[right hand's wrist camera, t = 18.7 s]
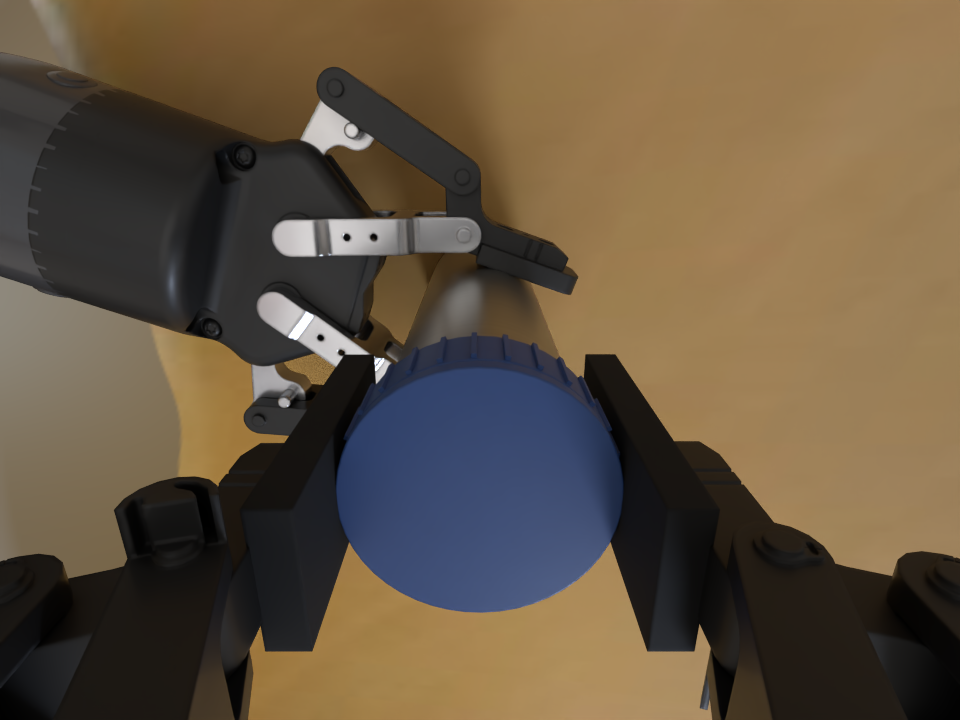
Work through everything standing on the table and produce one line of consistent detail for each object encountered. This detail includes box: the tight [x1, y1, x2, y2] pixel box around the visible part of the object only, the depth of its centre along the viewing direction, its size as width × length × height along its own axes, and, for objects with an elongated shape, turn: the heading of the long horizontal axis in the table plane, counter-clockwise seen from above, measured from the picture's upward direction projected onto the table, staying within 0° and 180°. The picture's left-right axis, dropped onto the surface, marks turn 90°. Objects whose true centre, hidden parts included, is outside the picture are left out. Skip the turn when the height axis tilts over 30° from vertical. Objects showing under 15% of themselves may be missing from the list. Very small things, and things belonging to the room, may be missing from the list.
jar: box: [397, 253, 560, 363], centre depth 19 cm, size 5×5×17 cm
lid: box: [336, 332, 624, 612], centre depth 11 cm, size 6×6×2 cm
